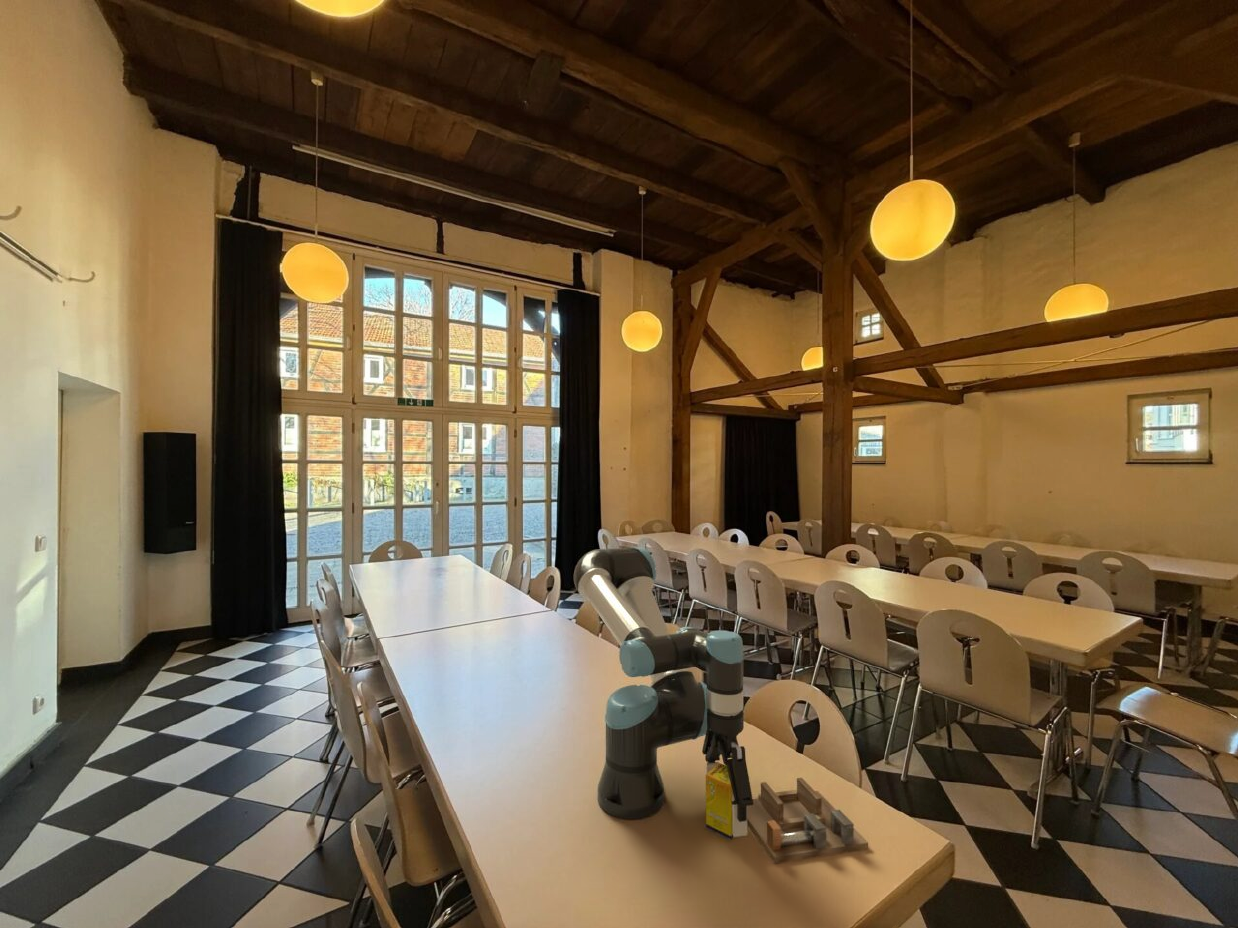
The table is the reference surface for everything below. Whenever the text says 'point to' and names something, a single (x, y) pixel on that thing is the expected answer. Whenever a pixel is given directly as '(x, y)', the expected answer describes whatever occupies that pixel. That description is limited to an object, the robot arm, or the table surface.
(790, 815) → the dock
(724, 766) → the supplement box
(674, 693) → the robot arm
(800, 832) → the lock pin
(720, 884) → the table surface
